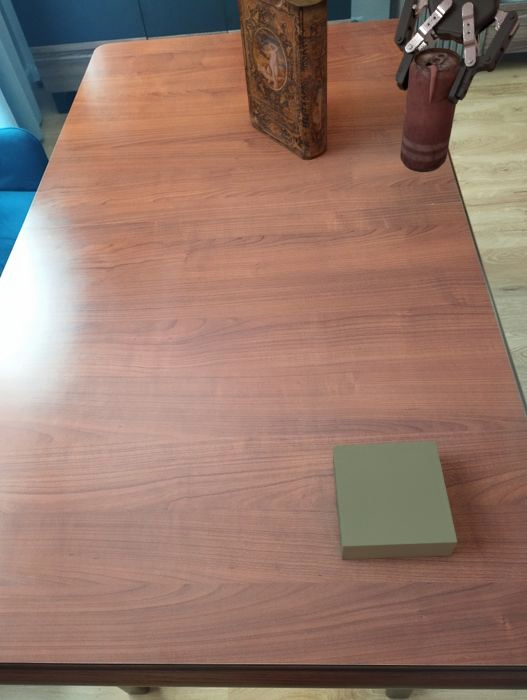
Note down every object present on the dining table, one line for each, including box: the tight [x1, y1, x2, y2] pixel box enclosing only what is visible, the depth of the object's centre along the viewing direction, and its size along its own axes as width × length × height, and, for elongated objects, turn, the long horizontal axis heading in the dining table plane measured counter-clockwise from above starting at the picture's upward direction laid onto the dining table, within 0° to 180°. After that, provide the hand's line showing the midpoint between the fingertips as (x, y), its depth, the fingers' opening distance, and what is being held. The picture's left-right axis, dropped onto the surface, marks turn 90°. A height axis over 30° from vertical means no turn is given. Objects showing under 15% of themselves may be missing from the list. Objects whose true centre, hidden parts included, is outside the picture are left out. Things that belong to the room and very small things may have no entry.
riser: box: [332, 440, 458, 560], centre depth 61 cm, size 11×11×4 cm
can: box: [399, 47, 463, 173], centre depth 74 cm, size 6×6×14 cm
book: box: [237, 0, 329, 161], centre depth 97 cm, size 16×6×25 cm, turn 39°
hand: (426, 94), depth 71 cm, fingers closed on can, 6 cm apart
